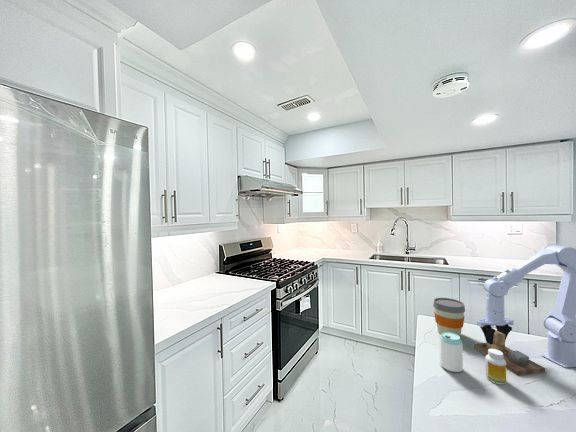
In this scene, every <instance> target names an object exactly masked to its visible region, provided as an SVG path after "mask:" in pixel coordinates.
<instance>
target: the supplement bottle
mask: <svg viewBox="0 0 576 432" xmlns="http://www.w3.org/2000/svg"><path fill="white" fill-rule="evenodd" d="M485 377H486V379H487V380H488V381H490V382H492V383H493V384H497V385H505V384H507V368H506V361H505V360H504V359H503V353H502V352H501V351H499V350H496V349H488V355H485Z"/></svg>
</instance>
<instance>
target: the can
mask: <svg viewBox="0 0 576 432" xmlns="http://www.w3.org/2000/svg"><path fill="white" fill-rule="evenodd" d="M463 351H464V350H463V341H462V339H461V336H458V335H457V334H454V333H451V332H443V333H442V335H440V336H439V364H440V366H441V367H442V368H444V370H446V371H448V372H452V373H459V372H462V371H463V368H464V367H463V366H464V362H463V358H464V357H463Z"/></svg>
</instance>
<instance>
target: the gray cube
mask: <svg viewBox="0 0 576 432" xmlns="http://www.w3.org/2000/svg"><path fill="white" fill-rule="evenodd" d="M508 359H509V360H510V361H512V362H514V363H515V364H517V365H519V366H521V365H529V360H530V356H529V355H527V354H525V353H523V352H521V351H519V350H513V351H508Z"/></svg>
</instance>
